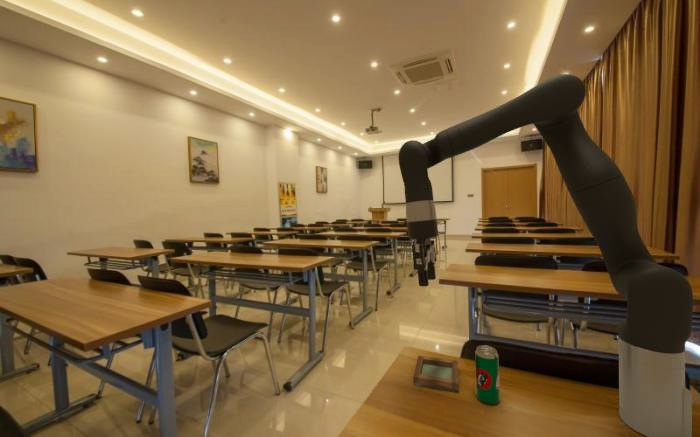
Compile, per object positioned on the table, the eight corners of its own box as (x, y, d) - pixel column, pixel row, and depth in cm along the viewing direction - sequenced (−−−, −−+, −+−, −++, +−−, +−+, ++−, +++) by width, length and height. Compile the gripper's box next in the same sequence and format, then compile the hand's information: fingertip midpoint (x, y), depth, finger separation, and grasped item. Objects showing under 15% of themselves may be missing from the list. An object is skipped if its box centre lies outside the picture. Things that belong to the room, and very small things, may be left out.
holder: (458, 368, 82) (457, 360, 82) (458, 392, 71) (458, 383, 71) (418, 363, 85) (418, 355, 85) (413, 385, 75) (413, 376, 75)
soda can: (502, 407, 66) (501, 355, 65) (479, 404, 67) (477, 354, 66) (496, 392, 71) (494, 345, 70) (474, 391, 72) (472, 343, 71)
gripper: (429, 218, 66) (437, 289, 65) (441, 217, 79) (447, 277, 78) (398, 221, 70) (405, 288, 69) (414, 220, 82) (420, 277, 82)
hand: (427, 282), depth 74 cm, fingers open, 8 cm apart
